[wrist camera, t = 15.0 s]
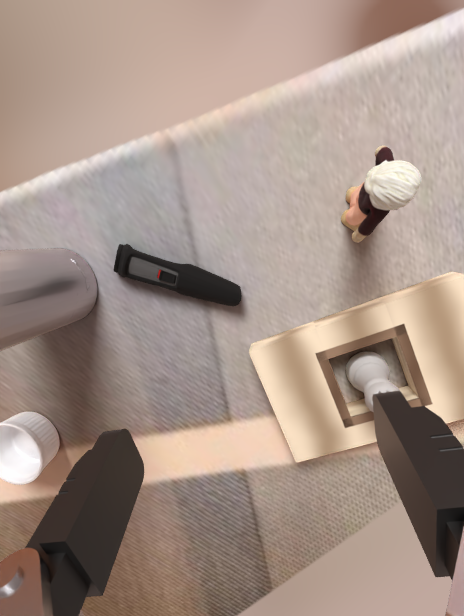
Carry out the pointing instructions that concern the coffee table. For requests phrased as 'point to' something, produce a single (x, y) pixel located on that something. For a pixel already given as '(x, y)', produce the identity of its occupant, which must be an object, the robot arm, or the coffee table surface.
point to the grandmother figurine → (380, 193)
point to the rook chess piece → (369, 375)
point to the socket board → (354, 335)
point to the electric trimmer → (176, 277)
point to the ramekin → (26, 447)
